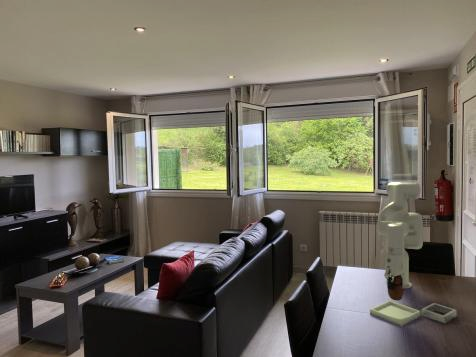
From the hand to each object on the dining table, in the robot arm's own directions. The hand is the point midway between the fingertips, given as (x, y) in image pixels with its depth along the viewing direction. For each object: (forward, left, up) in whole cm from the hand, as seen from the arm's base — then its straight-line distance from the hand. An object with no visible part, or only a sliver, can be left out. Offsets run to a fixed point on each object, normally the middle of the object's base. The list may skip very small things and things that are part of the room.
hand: (394, 287), depth 171 cm
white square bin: (+13, +15, -14) cm, 24 cm away
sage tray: (0, 0, -14) cm, 14 cm away
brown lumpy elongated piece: (0, 0, -6) cm, 6 cm away
